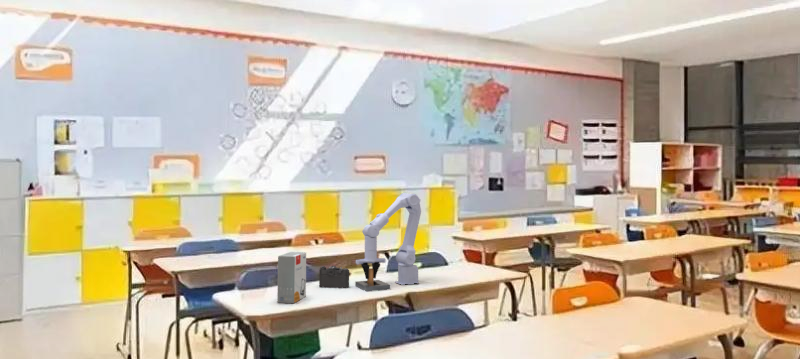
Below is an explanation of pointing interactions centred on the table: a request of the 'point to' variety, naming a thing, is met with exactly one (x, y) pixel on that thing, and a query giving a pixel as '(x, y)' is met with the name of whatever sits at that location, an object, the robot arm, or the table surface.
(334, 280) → the camera
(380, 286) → the keyhole plate
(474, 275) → the table surface
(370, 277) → the peg
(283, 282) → the hard drive box
